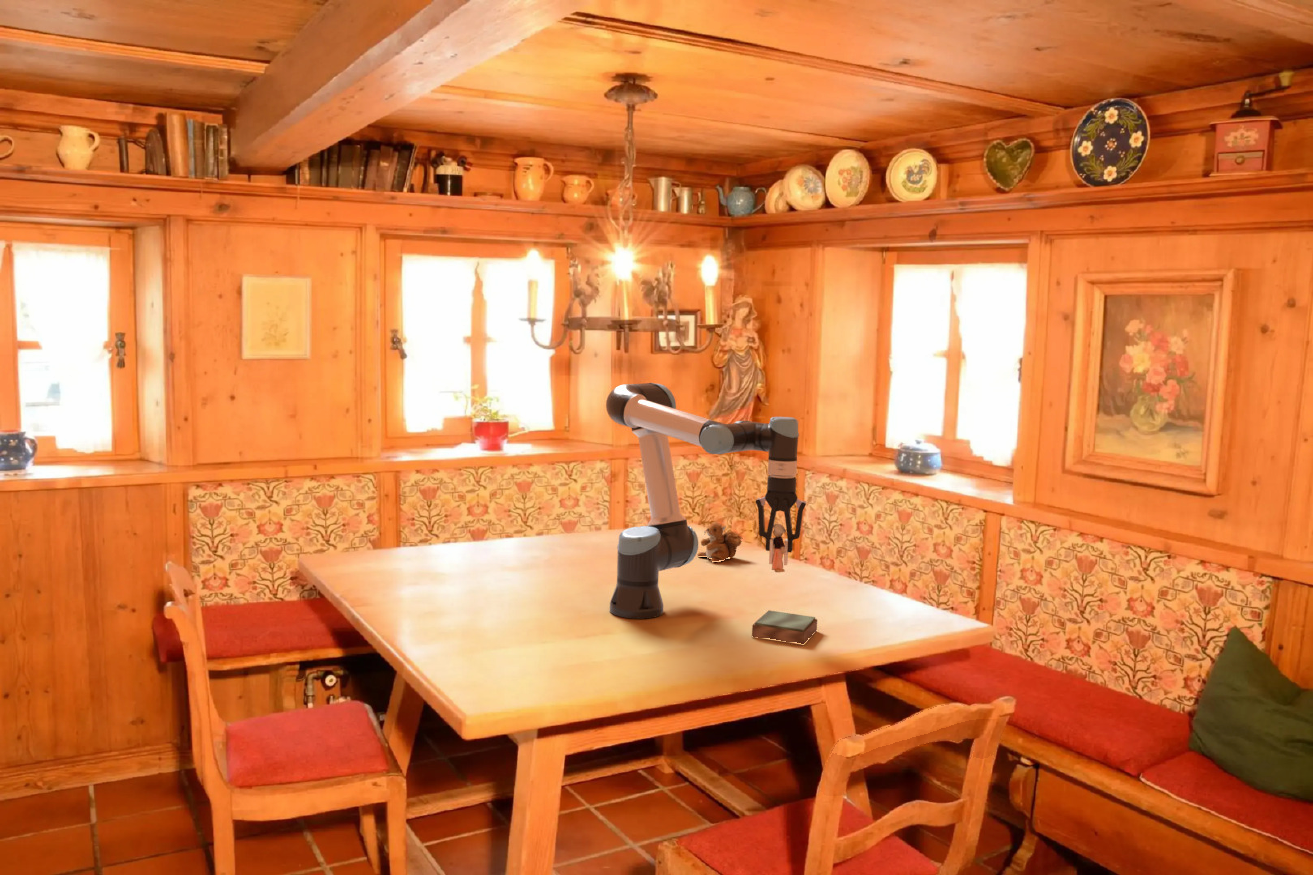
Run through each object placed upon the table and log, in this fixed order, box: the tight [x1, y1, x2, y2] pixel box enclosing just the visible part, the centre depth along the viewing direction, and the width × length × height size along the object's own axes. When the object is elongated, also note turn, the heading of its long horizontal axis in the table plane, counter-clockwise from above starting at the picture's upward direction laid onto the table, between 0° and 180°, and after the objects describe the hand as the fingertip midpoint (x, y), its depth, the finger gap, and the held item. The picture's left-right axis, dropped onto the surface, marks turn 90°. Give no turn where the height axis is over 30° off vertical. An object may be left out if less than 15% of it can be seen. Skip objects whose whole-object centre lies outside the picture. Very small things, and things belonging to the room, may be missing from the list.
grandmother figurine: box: [771, 523, 787, 573], centre depth 277 cm, size 8×4×13 cm, turn 21°
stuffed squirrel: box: [697, 521, 743, 562], centre depth 362 cm, size 10×14×13 cm
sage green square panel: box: [751, 609, 818, 644], centre depth 279 cm, size 14×14×4 cm
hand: (778, 563), depth 278 cm, fingers closed on grandmother figurine, 3 cm apart
